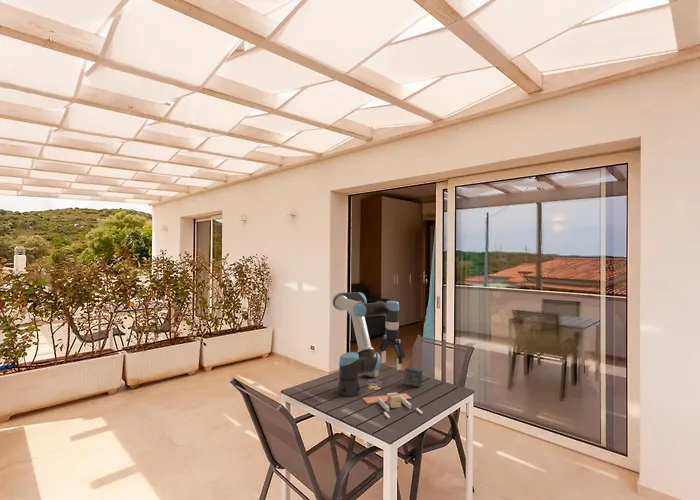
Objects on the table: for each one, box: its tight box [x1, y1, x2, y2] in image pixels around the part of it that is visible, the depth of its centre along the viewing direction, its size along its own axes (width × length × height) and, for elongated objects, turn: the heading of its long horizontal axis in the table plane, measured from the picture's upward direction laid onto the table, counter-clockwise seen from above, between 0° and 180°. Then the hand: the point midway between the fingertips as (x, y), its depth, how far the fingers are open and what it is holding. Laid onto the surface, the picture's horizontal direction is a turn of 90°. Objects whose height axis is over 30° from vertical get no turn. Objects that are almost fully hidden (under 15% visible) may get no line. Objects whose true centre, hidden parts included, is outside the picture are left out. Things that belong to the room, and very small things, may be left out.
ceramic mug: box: [364, 368, 380, 378], centre depth 256 cm, size 11×8×8 cm
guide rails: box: [378, 395, 412, 413], centre depth 205 cm, size 14×14×2 cm
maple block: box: [386, 392, 402, 409], centre depth 205 cm, size 6×6×6 cm
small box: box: [404, 366, 423, 388], centre depth 239 cm, size 11×6×10 cm, turn 58°
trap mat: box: [362, 392, 412, 405], centre depth 215 cm, size 8×28×1 cm, turn 107°
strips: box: [383, 407, 424, 419], centre depth 194 cm, size 6×20×1 cm, turn 107°
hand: (391, 366), depth 206 cm, fingers open, 13 cm apart
